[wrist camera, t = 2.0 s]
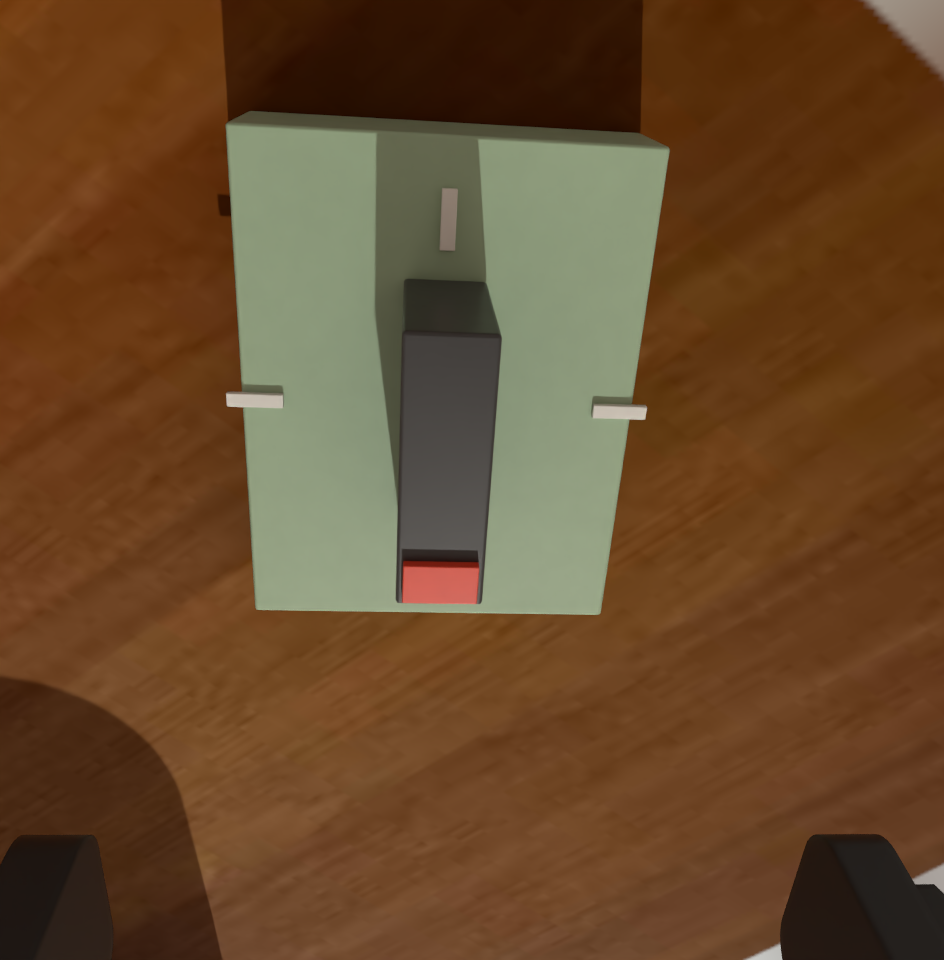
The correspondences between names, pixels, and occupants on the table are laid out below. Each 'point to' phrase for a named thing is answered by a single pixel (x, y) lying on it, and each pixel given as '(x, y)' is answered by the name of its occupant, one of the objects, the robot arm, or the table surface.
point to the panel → (378, 338)
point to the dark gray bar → (445, 439)
